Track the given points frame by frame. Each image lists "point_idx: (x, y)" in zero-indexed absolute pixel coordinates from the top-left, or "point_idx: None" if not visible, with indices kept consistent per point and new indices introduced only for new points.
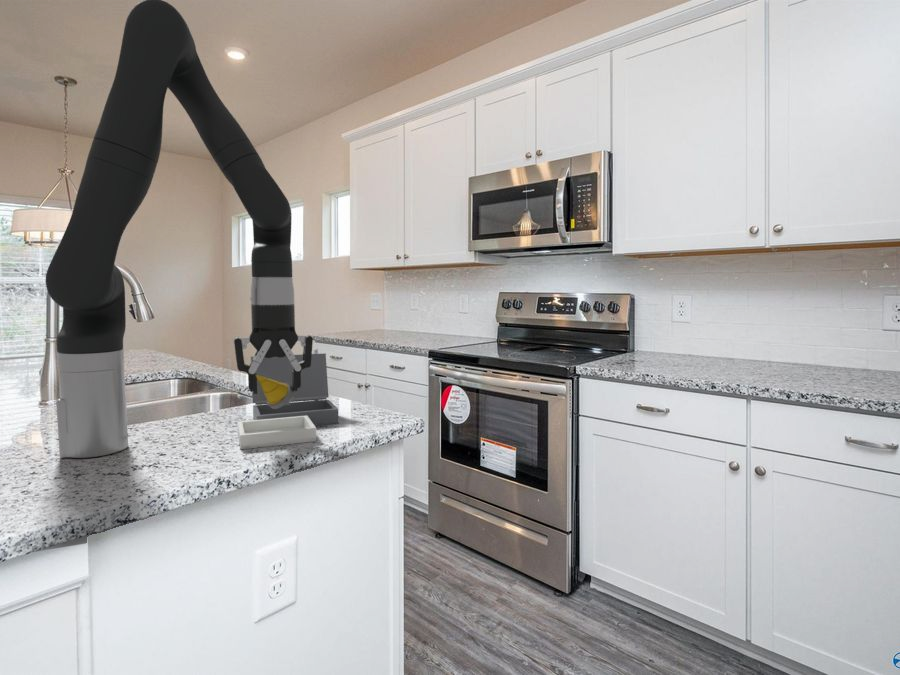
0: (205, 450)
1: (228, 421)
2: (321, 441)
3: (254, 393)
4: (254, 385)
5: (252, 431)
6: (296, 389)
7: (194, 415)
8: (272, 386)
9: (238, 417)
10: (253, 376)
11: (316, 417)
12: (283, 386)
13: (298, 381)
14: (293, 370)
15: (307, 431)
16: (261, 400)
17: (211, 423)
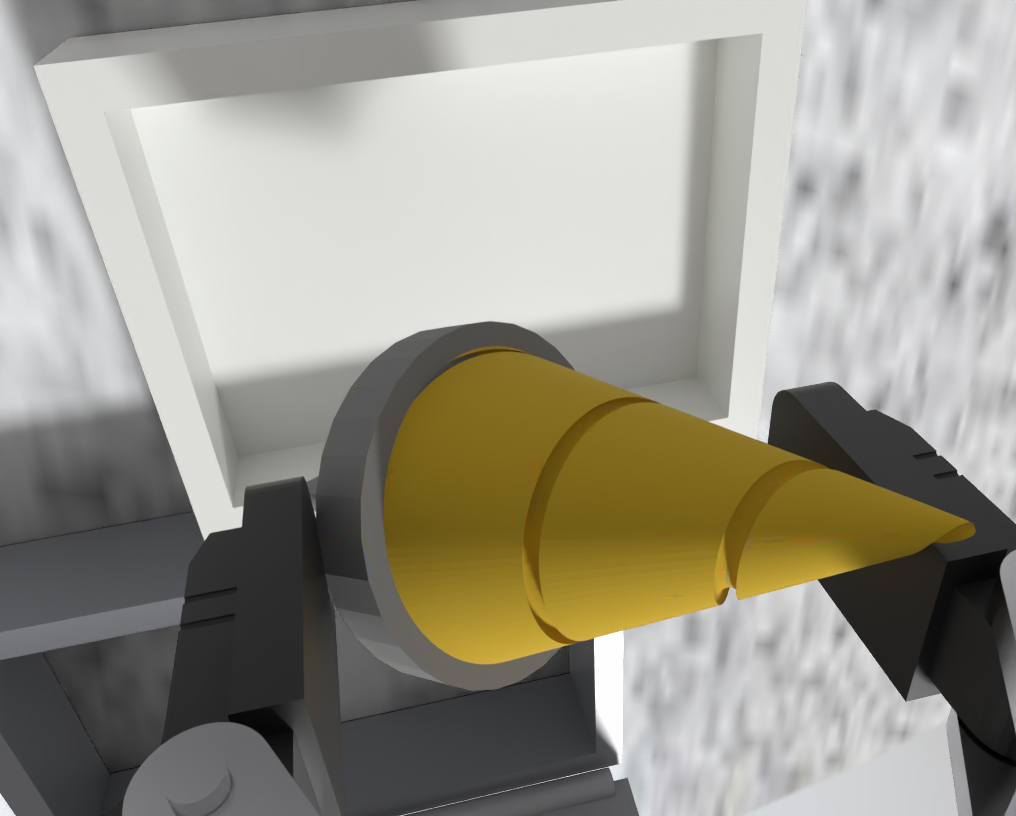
0: (973, 35)
1: (730, 657)
2: (9, 14)
3: (813, 387)
4: (876, 438)
5: (630, 379)
6: (260, 488)
7: (869, 759)
8: (623, 445)
9: (670, 722)
10: (976, 526)
11: (130, 566)
12: (455, 520)
13: (222, 602)
14: (308, 789)
15: (142, 50)
16: (574, 806)
17: (820, 630)
